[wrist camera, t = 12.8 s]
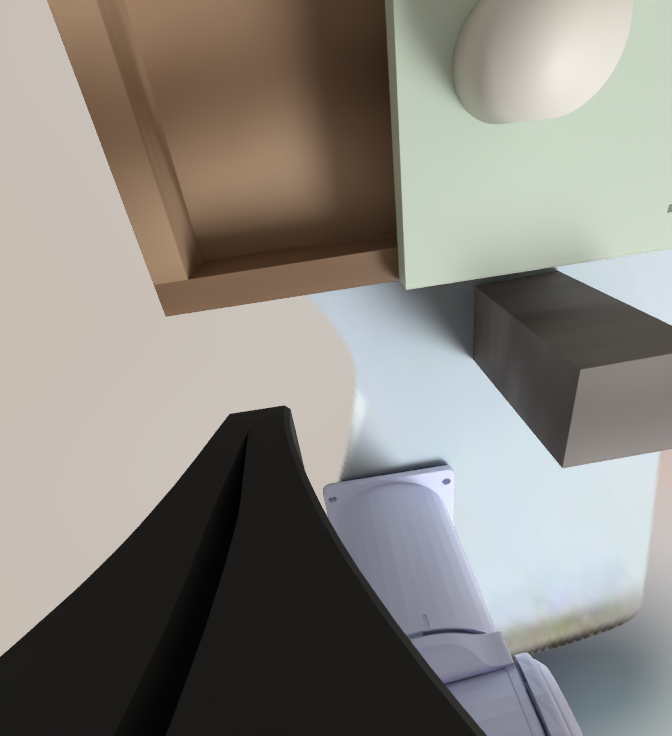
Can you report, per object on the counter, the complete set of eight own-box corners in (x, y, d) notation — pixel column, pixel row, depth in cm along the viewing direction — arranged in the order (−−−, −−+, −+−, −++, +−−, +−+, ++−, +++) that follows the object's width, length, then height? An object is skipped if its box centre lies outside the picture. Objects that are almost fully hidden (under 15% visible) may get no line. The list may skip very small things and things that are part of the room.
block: (548, 345, 21) (676, 448, 14) (473, 359, 21) (562, 468, 14) (558, 271, 19) (714, 345, 12) (474, 286, 19) (580, 369, 12)
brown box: (544, 231, 18) (596, 249, 14) (188, 286, 17) (165, 316, 14) (598, -189, 12) (706, -308, 9) (58, -110, 11) (-29, -202, 8)
